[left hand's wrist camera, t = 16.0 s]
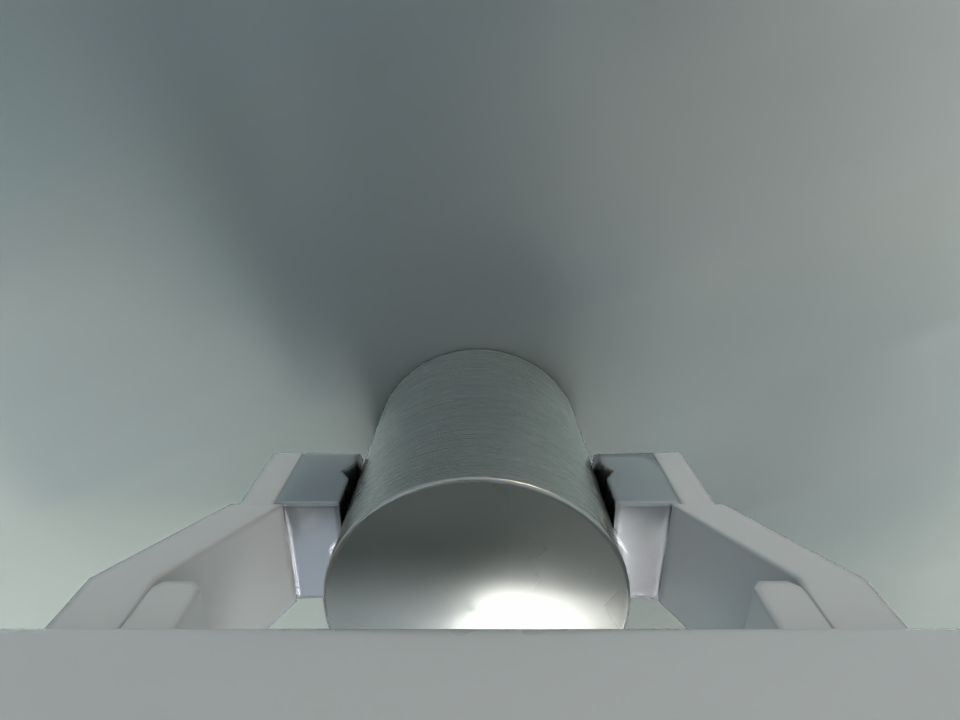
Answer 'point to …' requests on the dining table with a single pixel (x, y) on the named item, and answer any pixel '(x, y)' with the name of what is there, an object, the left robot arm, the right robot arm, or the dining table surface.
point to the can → (477, 510)
